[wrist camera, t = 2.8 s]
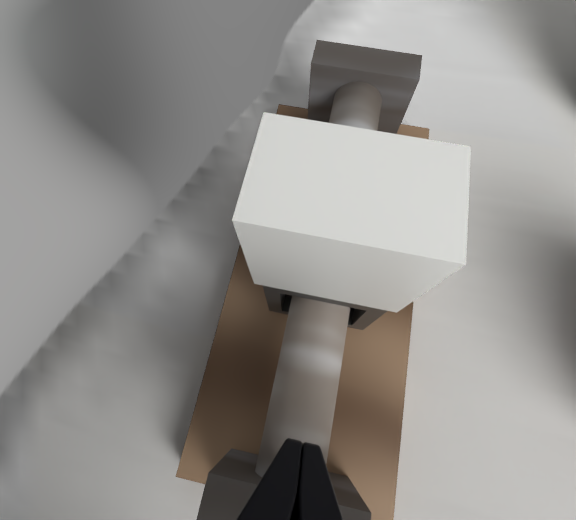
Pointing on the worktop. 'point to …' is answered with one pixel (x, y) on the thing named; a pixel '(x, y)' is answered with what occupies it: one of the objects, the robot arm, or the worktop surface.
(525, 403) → the worktop surface
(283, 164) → the white slider block
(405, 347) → the pipe stand
